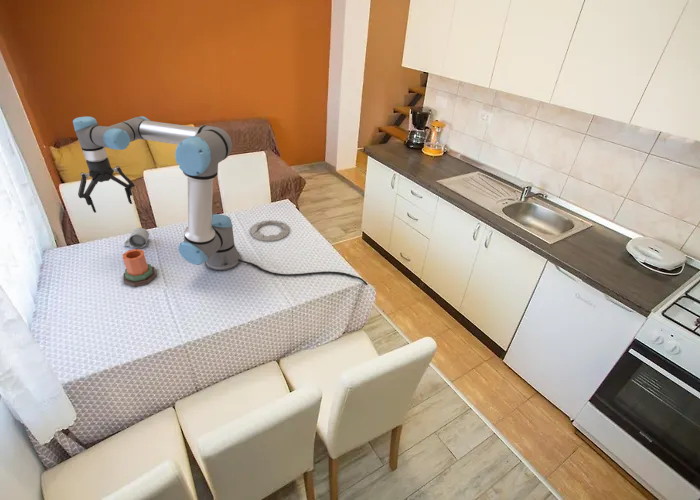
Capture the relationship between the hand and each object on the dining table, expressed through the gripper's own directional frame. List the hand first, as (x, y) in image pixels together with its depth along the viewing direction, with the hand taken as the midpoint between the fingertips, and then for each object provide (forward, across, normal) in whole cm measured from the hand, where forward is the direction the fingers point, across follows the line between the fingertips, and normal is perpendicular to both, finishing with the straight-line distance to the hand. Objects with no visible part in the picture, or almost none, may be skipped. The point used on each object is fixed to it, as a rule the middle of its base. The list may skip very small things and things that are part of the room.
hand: (112, 206), depth 159 cm
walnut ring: (+26, 0, +18) cm, 32 cm away
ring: (+26, -64, +17) cm, 71 cm away
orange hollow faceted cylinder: (+22, 0, +18) cm, 28 cm away
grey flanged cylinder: (+26, -6, -8) cm, 28 cm away
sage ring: (+24, 0, +18) cm, 30 cm away
